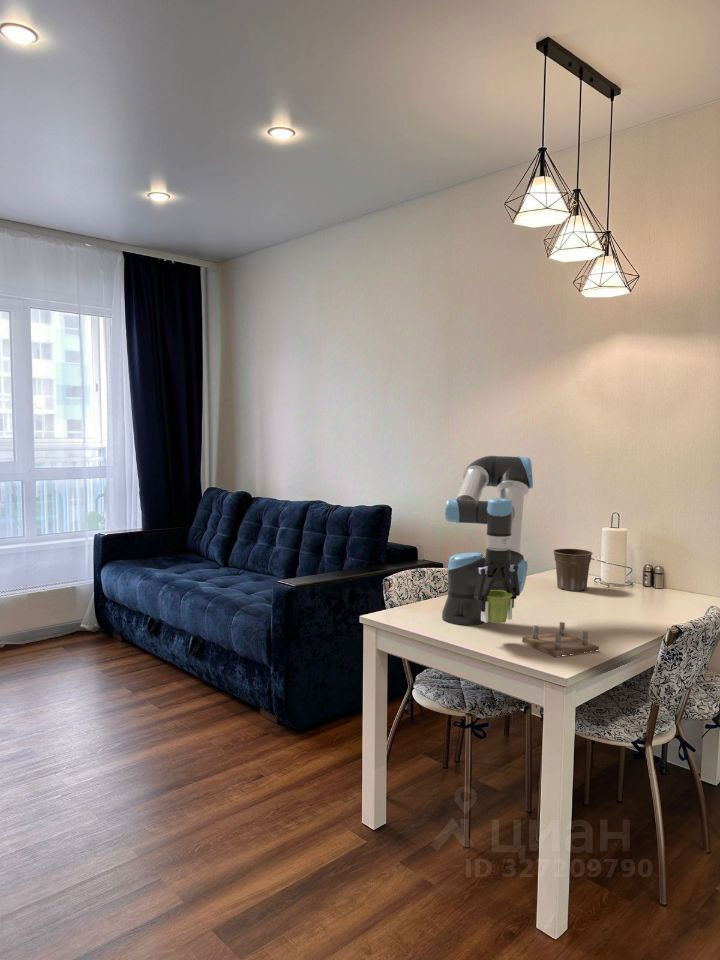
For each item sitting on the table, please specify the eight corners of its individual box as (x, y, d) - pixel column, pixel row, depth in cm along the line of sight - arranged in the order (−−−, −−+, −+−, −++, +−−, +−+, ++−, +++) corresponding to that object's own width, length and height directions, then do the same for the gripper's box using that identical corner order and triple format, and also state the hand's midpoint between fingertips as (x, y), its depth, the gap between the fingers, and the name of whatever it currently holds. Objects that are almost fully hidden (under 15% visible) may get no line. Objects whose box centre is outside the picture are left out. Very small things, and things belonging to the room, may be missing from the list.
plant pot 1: (510, 626, 205) (511, 598, 204) (479, 623, 208) (480, 596, 207) (512, 618, 214) (513, 591, 213) (482, 615, 217) (483, 588, 216)
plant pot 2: (557, 592, 283) (558, 554, 282) (547, 583, 299) (549, 547, 298) (596, 593, 282) (597, 555, 281) (584, 584, 298) (586, 548, 297)
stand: (522, 641, 211) (522, 624, 211) (562, 636, 218) (563, 619, 217) (556, 657, 197) (557, 638, 196) (598, 651, 203) (599, 633, 203)
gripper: (476, 552, 201) (474, 627, 203) (533, 548, 210) (531, 619, 212) (462, 548, 208) (461, 620, 210) (518, 544, 217) (516, 613, 219)
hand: (496, 619), depth 211 cm, fingers closed on plant pot 1, 8 cm apart
